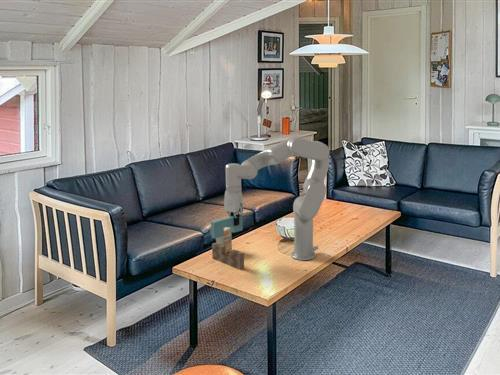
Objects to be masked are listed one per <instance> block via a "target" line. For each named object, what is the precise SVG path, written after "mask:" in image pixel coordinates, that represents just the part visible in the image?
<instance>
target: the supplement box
mask: <svg viewBox="0 0 500 375" xmlns="http://www.w3.org/2000/svg"><path fill="white" fill-rule="evenodd" d="M232 234H233V233H232V232H231V226H229V227H226V228H224V236H222V237H219V238H215V241H216V242H215V243H218V244H221V245H224V246H225V254H228V253H230V250H233V244H232V241H233V240H232V238H233V236H232Z"/></svg>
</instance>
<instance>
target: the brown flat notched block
mask: <svg viewBox="0 0 500 375" xmlns="http://www.w3.org/2000/svg"><path fill="white" fill-rule="evenodd" d="M211 250H212V251H211V254H212V255H211V256H212V259H213V260H216V261H218V262H220V263H223V264H225V265H228V266H230V267H232V268H235V269H237V270H240V271H241V270H244V269H245V252H242V251H241V250H237V249H234V248H232V250H230V252H229V254H228V253H226V254H225V246H224V245H221V244H218V243H216V242H214V243H212V244H211Z"/></svg>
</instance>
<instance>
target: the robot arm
mask: <svg viewBox="0 0 500 375" xmlns="http://www.w3.org/2000/svg"><path fill="white" fill-rule="evenodd" d="M293 156H298V157H300V158H304V159H309V160H311V165H310V168H309V170H308V174H307V176H306V178H305V180H304V182H303V185H302V188H303V191H304V193H305V194H304V195H300V196H298V197H296V198H295V199H294V201H293V203H292V204H293V205H292V208H293V209H292V210H293V226H294V227H293V230H294V231H293V234H294V236H293V243H294V244H293V249H294V250H293V251H292V252H291V255H290V256H291V258H292V259H294V260H297V261H310V260H313V259H315V258H316V256H317V254H316V253H315V251H316V250H319V246H318V245H314V218H315V217H316V216H317V214H318V212H319V210H320V209H321V206H322V204H323V201H324V200H325V197H326V194H327V187H326V184H325V183H324V181H325V179H326V176H327V173H328V171H329V167H330V159H329V157H330V148H329V146H328V145H327V144H325V143H324V142H321V141H319V140H312V141H311V140H308V139H305V138H302V137H300V136H297V135H291V136H290V137H288V138H287V139H284V140H283V141H281V142H279V143H277V144H276V145H274V146H272V147H270V148H268V149H266V150H263V151H261V152H259V153H256V154H255V155H253V156H251V157H249V158H248V159H246V160H244V161H243V162H241V164H239V163H232V162H230V163H228V164H226V165H225V191H224V198H223V209H224V210H225V211H226V212H227V214H228V217H230V216H233V215H234V216H235V218H234V226H237V225H239V224H240V223H239V217H240V216H241V215H242V216H243V215H244V199H243V198H244V197H243V192H242V179H243V180H253V179H254V178H256V176H257V175H258V171H259V170H261V169H263V168H264V167H268V166H276V165H279V164H281V163H282V162H284V161H286V160H288V159H289V158H292V157H293Z"/></svg>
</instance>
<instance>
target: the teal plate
mask: <svg viewBox="0 0 500 375" xmlns="http://www.w3.org/2000/svg"><path fill="white" fill-rule="evenodd" d="M234 218H235V216H234V215H233V216H230V217H229V216H227V217H223V218H219V219H216V220H213V221H212V220H211V221H210V235H211V238H212V239H215V240H216V238H219V237H222V236H224V228H226V227H230V228H231V233H232V234H233V233H239V232H241V231H243V230H244V227H243V226H244V225H243V214H242V215H241V216H240V217H239V223H240V224H239V225H237V226H234Z"/></svg>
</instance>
